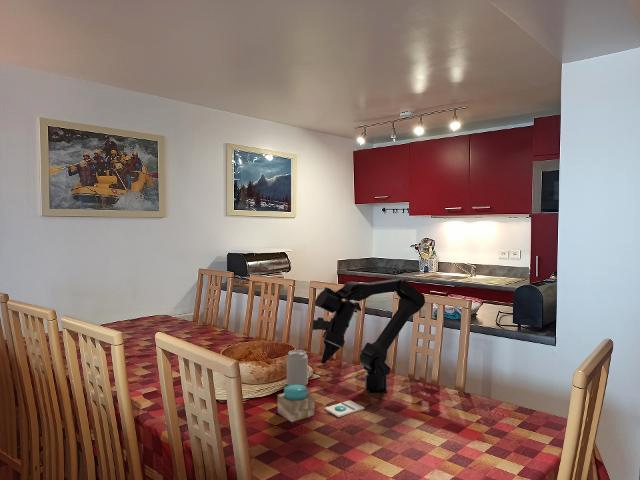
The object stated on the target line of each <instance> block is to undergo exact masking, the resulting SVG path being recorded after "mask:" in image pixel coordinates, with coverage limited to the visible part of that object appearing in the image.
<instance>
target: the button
mask: <svg viewBox="0 0 640 480" xmlns="http://www.w3.org/2000/svg"><path fill="white" fill-rule="evenodd" d="M283 393H284V397H285V398H286V399H290V400H300V399H304V398H306V397H307V393H308V387H307V385H306V386H303V385H290V386H289V385H287V386H285V387H284V388H283Z"/></svg>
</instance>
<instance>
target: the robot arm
mask: <svg viewBox="0 0 640 480" xmlns="http://www.w3.org/2000/svg"><path fill="white" fill-rule="evenodd" d="M394 292H395V294H396V295H397V296H398V298H399V300H398V306H397V310H396V311H395V312H394V314H393V316H392V317H391V319H390V320H389V321H388V323H387V324H386V326H385V327H384V329H383V330H382V331H381V333H380V335H379V336H378V337H377V339H376V340H375V341H374V342H373V343H371V342H366V343H365V346H364V347H363V349H361V350H360V354H359V363H360V364H361V365H362V367H363V370H365V371H366V374H365V376H364V387H365V389H366V391H367V392H368V393H369V394H374V393H375V394H378V393H379V394H380V393H382V394H383V393H385V394H386V393H388V392H389V391H388V389H387V376H389V375H390V373H391V367H390V366H389V365H388V364H387V363H386V360H387V357H388V350H389V349H390V347H391V346H392V344H393V343H394V341H395V339H396V338H397V336H399V333H400V332H401V331H402V330H403V328H404V326H405V324H407V322H408V321H409V319H410V317H412V316H413V315H415V314H417V313H419V311H420V310H422V308H423V307H424V306H425V304H426V297H425V295H424V293H422V292H420V291H419V290H418V289H416V288H415V287H413V286H412V285H410V284H409V283H408V282H407V280H406V279H402V278H397V277H396V278H392V279H387V280H379V281H372V282H359V281H358V282H357V281H348V282H345V283H344V285H343V286H342V287H341V288H339V289H338V290H336V291H334V290H333V289H331V288H330V287H326V286H325V287H324V289H323V290H322V291H320V293H319V294H318V295H317V297H316V299H315V306H317V307H318V308H320V309H322V310H323V311H327V312H328V313H330V314H333V317H331V318H330V320H325V319H324V317H320V316H319V317H317V319H312V324H311V330H312V331H317V330H318V331H319V330H321V331H324V332H323V334H322V342H323V345H324V348H323V351H322V352H323V353H322V355H321V361H320V363H321V364H323V365H324V364H326V363H327V362H328V360H330V359H331V358H332V357H333V356H334V355H335V354H336V353H337V352H338V351H339V350H340V349H341V348H343V347H344V346H345V344H346V341H345V334H346V333H347V330H348V328H349V327H350V323H351V320H352V318H353V316H354V314H355V312H356V311H359V312H362V307H361V305H360V302H361V301H363V300H366V299H368V298H369V297H371V296H373V295H374V296H375V295H378V294H379V295H380V294H387V293H394ZM353 301H354V302H353Z"/></svg>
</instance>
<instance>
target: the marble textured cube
mask: <svg viewBox="0 0 640 480" xmlns="http://www.w3.org/2000/svg"><path fill="white" fill-rule="evenodd" d="M277 413H278V414H279V415H281V416H282V417H283V418H285V420H288V421H289V422H291V423H294V422H296V421H299V420H302V419H303V420H304V419H306V418H310V417H313V416H315V397H314V396H313V395H311V394H309V393H308V392H307V397H306V398H304V399H300V400H290V399H286V398H285V397H284V392H283V393H279V394H277Z"/></svg>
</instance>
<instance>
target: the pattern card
mask: <svg viewBox="0 0 640 480" xmlns="http://www.w3.org/2000/svg"><path fill="white" fill-rule="evenodd" d="M362 410H365V407H364V406H362V405H360V404H358V403H356V402H354V401H352V400H349V399H348V400H345V401H343V402H340V403H337V404H336V403H335V404H334V405H330V406H327V407H324V411H326V412H328V413H330V414H332V415H334V416H336V417H337V418H341V417H344V416H347V415H350V414H353V413H356V412H359V411H362Z"/></svg>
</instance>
